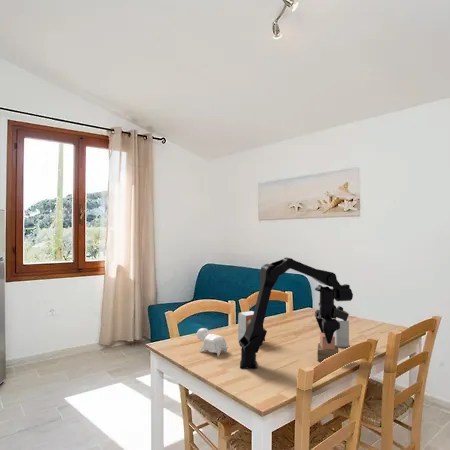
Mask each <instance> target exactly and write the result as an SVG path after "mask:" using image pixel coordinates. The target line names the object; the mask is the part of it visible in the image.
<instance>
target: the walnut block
mask: <svg viewBox="0 0 450 450" xmlns="http://www.w3.org/2000/svg"><path fill="white" fill-rule="evenodd" d="M339 351H340V350H339V347H338V345H335V349H322V348H321V346H320V342H319V343H317V362H318V361H319V363H322V362H321V361H323V360H324V359H326V358H328V357H330V356H332V355H334V354H336V353H338V352H339Z"/></svg>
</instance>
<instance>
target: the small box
mask: <svg viewBox="0 0 450 450" xmlns="http://www.w3.org/2000/svg"><path fill="white" fill-rule="evenodd" d="M253 314H254V311H253V310H250V311H249V310H248V311H243V312H238V317H237V318H238V320H237V321H238V322H237V323H238V324H237V326H238V327H237V341H239V340H240V339H241V338H242V337H243V336H244V334H245V331H246V329H247V327H248V325H249V324H250V322H251V321H252V318H253Z"/></svg>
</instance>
